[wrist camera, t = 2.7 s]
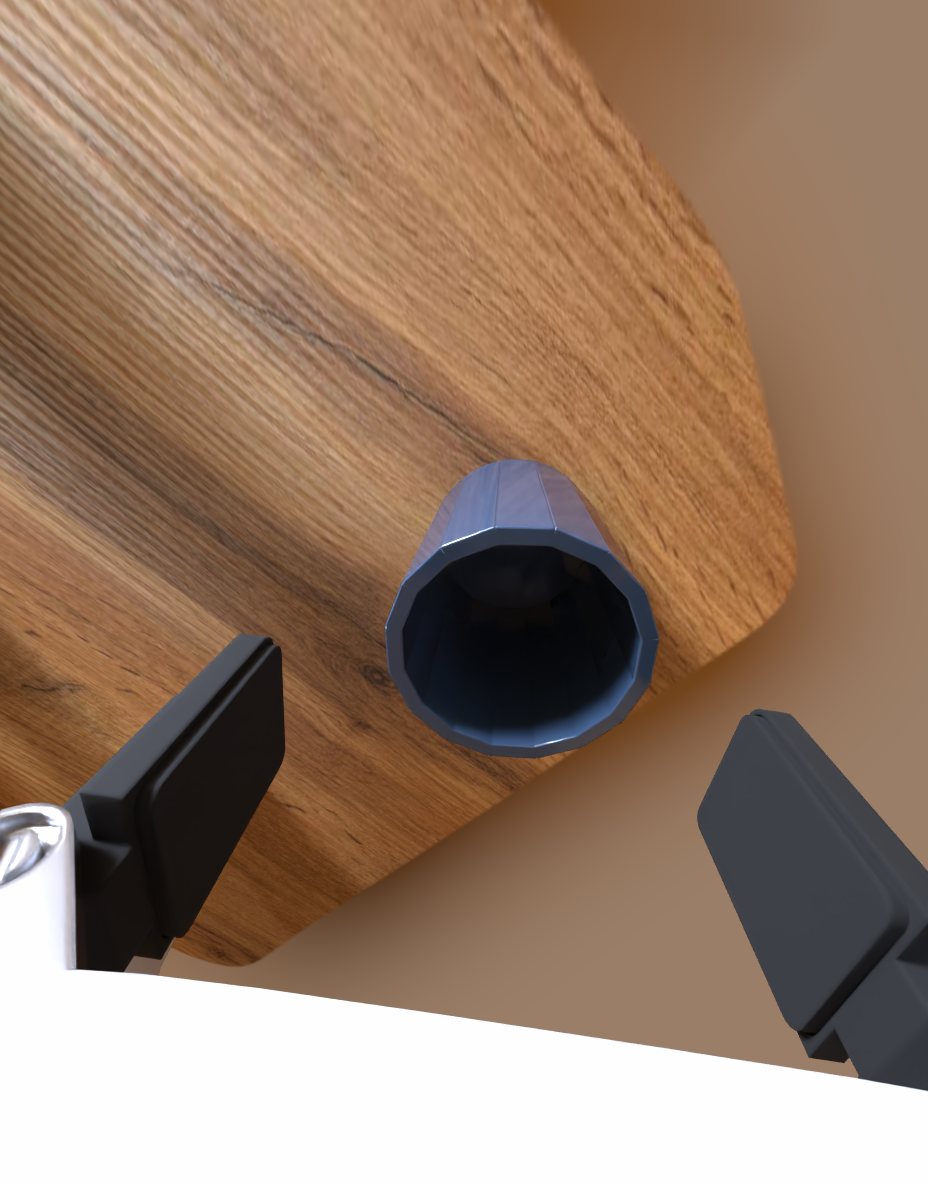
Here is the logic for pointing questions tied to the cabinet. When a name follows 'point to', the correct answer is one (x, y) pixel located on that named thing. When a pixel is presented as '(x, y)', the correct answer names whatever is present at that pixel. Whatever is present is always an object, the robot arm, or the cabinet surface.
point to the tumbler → (520, 618)
